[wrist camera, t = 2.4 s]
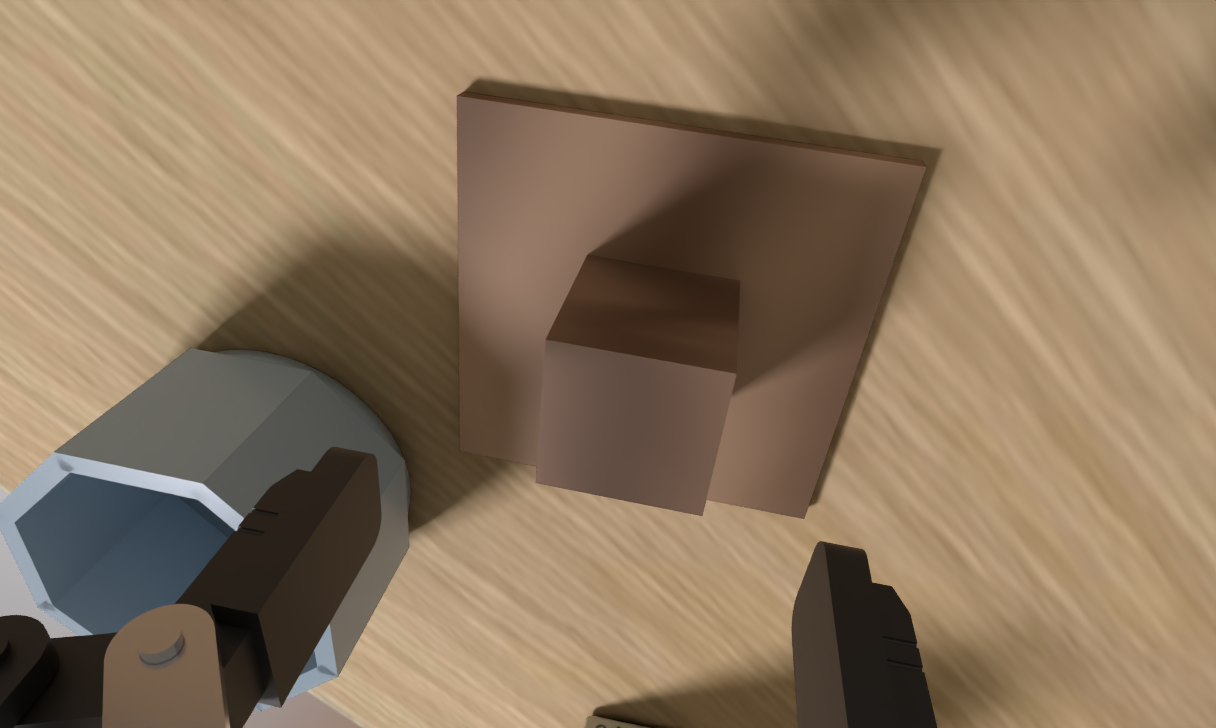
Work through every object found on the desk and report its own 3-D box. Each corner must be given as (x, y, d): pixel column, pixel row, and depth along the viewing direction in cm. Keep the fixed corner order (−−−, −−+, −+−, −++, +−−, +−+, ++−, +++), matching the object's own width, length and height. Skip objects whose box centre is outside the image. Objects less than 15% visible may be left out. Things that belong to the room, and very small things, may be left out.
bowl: (411, 374, 22) (311, 506, 17) (420, 583, 28) (346, 731, 23) (125, 319, 23) (-49, 430, 18) (187, 531, 28) (64, 664, 23)
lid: (917, 154, 17) (978, 242, 12) (802, 497, 23) (814, 642, 18) (470, 87, 18) (373, 146, 13) (469, 432, 24) (402, 555, 19)
